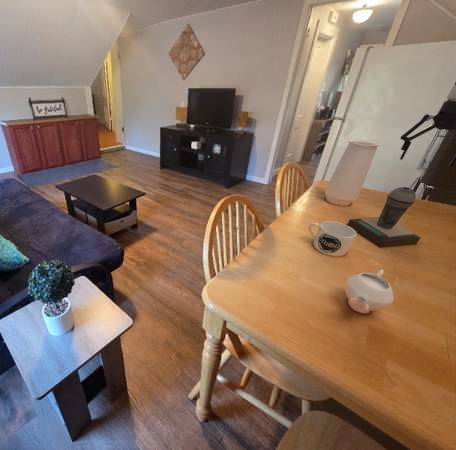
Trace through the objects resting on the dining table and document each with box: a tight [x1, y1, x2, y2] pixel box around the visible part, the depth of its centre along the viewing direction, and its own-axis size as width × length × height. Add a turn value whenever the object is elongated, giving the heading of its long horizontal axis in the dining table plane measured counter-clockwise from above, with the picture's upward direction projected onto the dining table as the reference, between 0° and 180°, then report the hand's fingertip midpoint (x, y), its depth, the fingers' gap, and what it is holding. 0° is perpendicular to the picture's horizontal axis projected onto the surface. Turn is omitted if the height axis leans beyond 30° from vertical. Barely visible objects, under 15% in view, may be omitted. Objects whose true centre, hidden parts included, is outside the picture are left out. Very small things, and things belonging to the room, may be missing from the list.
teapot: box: [344, 268, 395, 314], centre depth 63 cm, size 10×20×9 cm, turn 129°
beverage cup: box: [377, 175, 421, 229], centre depth 87 cm, size 7×7×20 cm
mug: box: [308, 220, 358, 257], centre depth 85 cm, size 13×10×8 cm
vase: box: [324, 138, 382, 207], centre depth 111 cm, size 13×13×28 cm
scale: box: [346, 216, 421, 249], centre depth 93 cm, size 15×15×4 cm
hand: (424, 162), depth 93 cm, fingers open, 13 cm apart
